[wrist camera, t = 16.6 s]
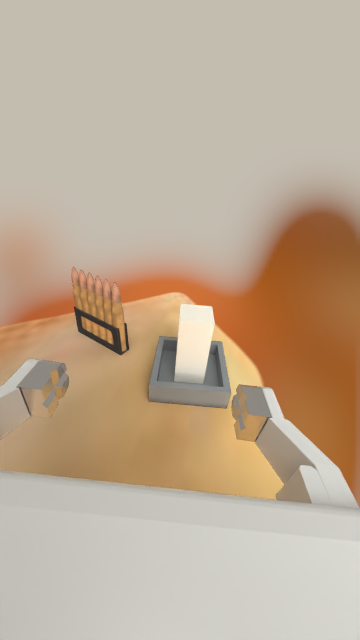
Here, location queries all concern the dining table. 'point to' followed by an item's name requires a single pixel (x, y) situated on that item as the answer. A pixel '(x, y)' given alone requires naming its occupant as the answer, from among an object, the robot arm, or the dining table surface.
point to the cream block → (193, 343)
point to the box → (170, 391)
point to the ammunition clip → (99, 311)
